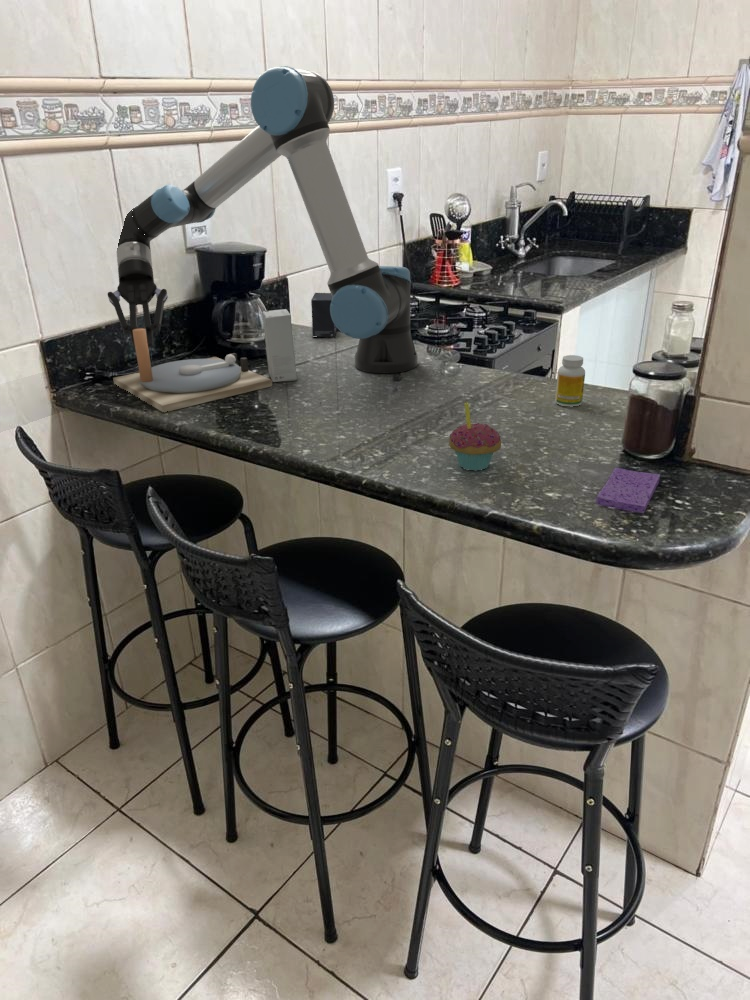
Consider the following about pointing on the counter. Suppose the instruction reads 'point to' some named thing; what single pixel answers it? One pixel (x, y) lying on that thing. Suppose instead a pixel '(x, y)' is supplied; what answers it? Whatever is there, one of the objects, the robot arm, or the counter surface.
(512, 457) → the counter surface
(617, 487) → the sponges
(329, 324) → the small box
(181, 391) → the cam disc
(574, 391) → the supplement bottle
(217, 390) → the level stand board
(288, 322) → the skincare box
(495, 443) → the cupcake
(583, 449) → the counter surface
